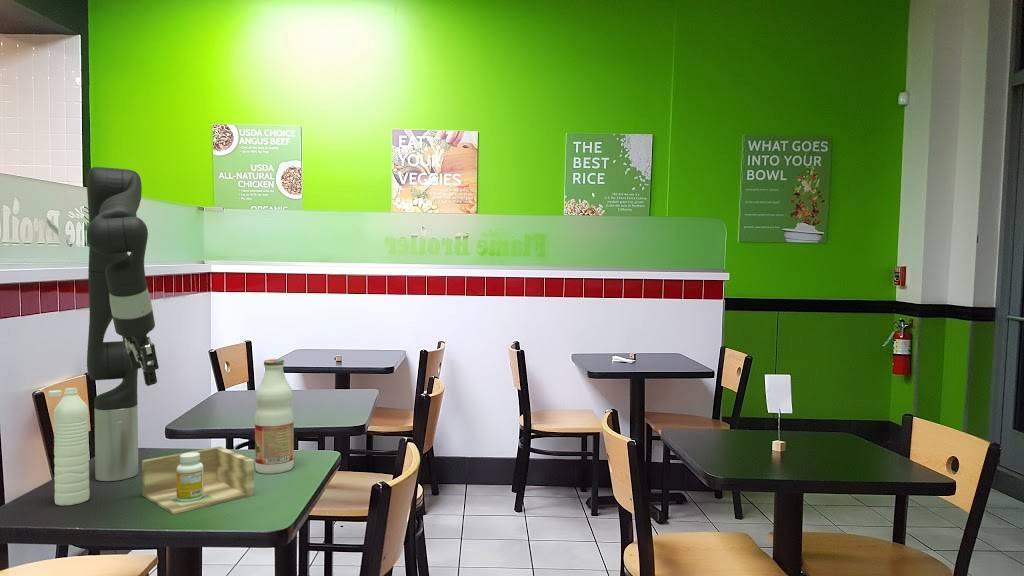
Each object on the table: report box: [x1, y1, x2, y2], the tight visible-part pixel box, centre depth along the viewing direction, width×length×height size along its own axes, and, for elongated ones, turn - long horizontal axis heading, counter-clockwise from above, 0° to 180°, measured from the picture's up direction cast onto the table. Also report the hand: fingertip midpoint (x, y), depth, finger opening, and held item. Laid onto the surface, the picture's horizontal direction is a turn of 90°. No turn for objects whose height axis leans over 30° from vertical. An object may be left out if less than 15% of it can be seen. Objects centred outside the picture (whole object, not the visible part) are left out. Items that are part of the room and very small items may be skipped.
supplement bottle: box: [176, 451, 204, 502], centre depth 153 cm, size 5×5×10 cm
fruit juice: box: [254, 358, 295, 475], centre depth 178 cm, size 9×9×28 cm
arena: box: [141, 446, 255, 515], centre depth 158 cm, size 18×18×8 cm
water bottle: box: [47, 387, 90, 506], centre depth 152 cm, size 9×6×25 cm
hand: (144, 375), depth 153 cm, fingers open, 8 cm apart
